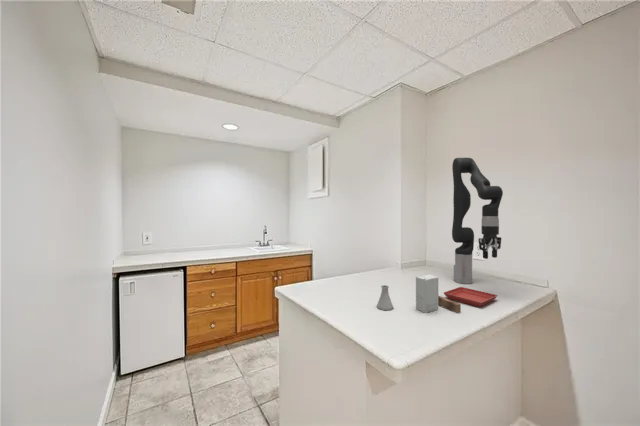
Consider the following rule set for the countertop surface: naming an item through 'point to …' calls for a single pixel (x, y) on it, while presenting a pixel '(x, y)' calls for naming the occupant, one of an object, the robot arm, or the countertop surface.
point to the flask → (384, 299)
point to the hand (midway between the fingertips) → (489, 257)
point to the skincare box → (427, 293)
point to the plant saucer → (470, 296)
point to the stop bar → (449, 304)
